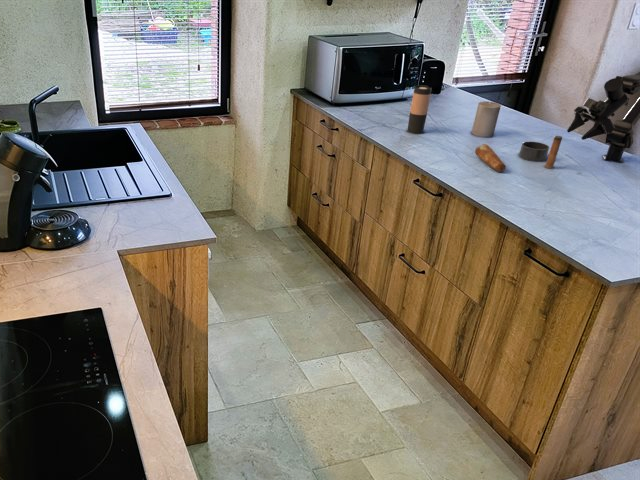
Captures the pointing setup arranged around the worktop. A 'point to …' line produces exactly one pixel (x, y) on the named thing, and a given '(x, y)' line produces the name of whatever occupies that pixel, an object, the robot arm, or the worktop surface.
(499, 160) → the bread
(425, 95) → the travel mug
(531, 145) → the bowl
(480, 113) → the pillar candle
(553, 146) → the stick
